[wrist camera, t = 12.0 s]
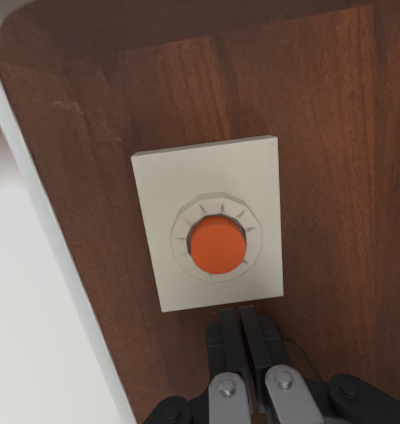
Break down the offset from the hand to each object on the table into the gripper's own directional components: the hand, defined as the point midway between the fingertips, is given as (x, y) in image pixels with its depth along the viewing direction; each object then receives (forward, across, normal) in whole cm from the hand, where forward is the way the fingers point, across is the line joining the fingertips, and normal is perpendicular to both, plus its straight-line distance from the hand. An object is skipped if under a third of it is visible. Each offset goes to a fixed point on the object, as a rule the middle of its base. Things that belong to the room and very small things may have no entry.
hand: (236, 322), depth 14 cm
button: (+9, 0, 0) cm, 9 cm away
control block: (+13, 0, 0) cm, 13 cm away
